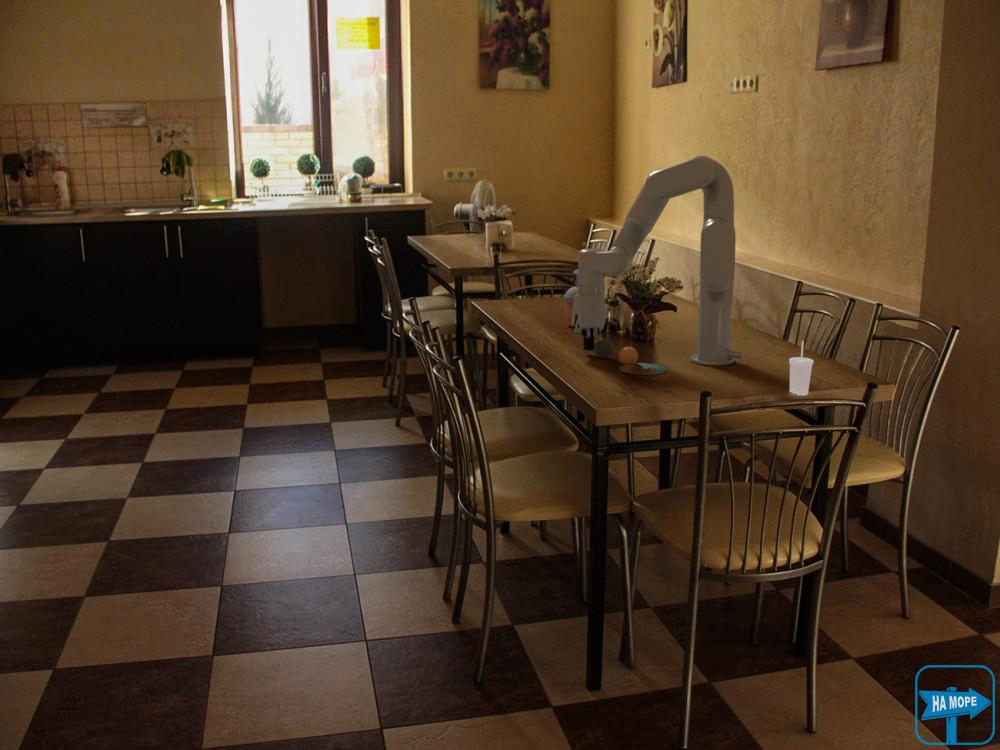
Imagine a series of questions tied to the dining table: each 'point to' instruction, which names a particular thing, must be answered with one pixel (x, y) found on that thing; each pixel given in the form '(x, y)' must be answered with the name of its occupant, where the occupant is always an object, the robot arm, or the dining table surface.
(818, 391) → the dining table surface
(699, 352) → the robot arm
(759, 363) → the dining table surface
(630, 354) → the object ball
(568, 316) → the cup with straw
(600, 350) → the dark grey ball
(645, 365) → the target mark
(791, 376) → the beverage cup
